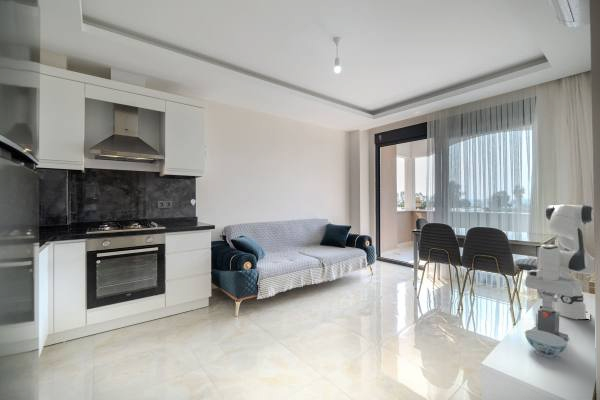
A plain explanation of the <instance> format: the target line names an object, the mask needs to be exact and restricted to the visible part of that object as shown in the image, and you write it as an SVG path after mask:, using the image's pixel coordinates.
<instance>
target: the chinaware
mask: <svg viewBox="0 0 600 400" xmlns="http://www.w3.org/2000/svg"><path fill="white" fill-rule="evenodd" d="M524 335H525V338H526V340H527V343H528V344H529V345H530V346H531V347H532V348H533V349H534V350H535V352H536V351H537V352H538V353H537V352H536V353H537V354H539V355H541V354H542V355H541V356H543V355H544V357H548V358H554V357H555V356H556V355H559V354H561V353H564V351H565V350H566V348H567V345H568V343H567V341H566V340H564V339H562V338H561V337H559V336H557V335H554V334H551V333H548V332H544V331H540V330H531V329H527V330H525V332H524Z"/></svg>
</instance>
